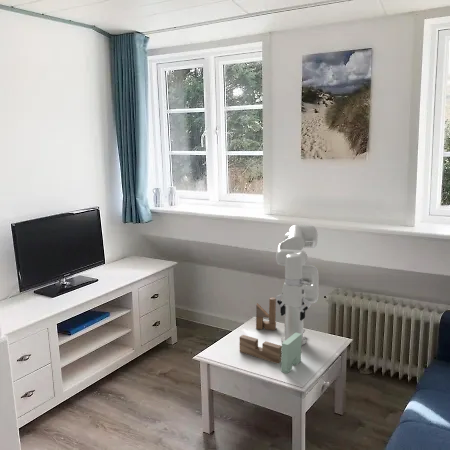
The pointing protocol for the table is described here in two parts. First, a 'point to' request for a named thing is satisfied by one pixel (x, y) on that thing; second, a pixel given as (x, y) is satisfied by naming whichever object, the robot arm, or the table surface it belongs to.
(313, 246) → the robot arm
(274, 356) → the walnut slotted plate
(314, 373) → the table surface
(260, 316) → the wooden block
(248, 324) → the table surface
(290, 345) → the green slotted board
